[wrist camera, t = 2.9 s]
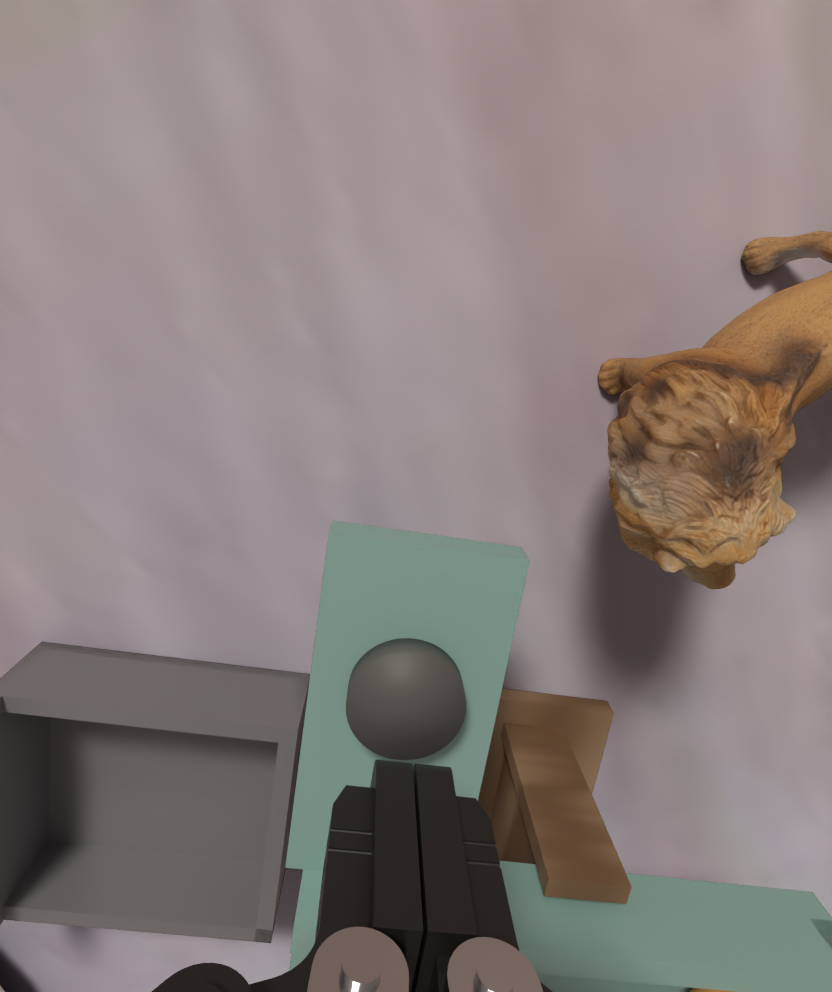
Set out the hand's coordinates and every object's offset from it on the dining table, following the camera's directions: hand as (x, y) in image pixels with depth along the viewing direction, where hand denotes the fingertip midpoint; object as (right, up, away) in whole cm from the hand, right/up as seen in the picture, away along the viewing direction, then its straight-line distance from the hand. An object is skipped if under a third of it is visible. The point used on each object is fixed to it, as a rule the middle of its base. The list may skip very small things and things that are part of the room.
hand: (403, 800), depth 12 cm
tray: (-10, -5, +13) cm, 17 cm away
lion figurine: (+11, +11, +10) cm, 18 cm away
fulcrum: (+4, -7, +14) cm, 16 cm away
